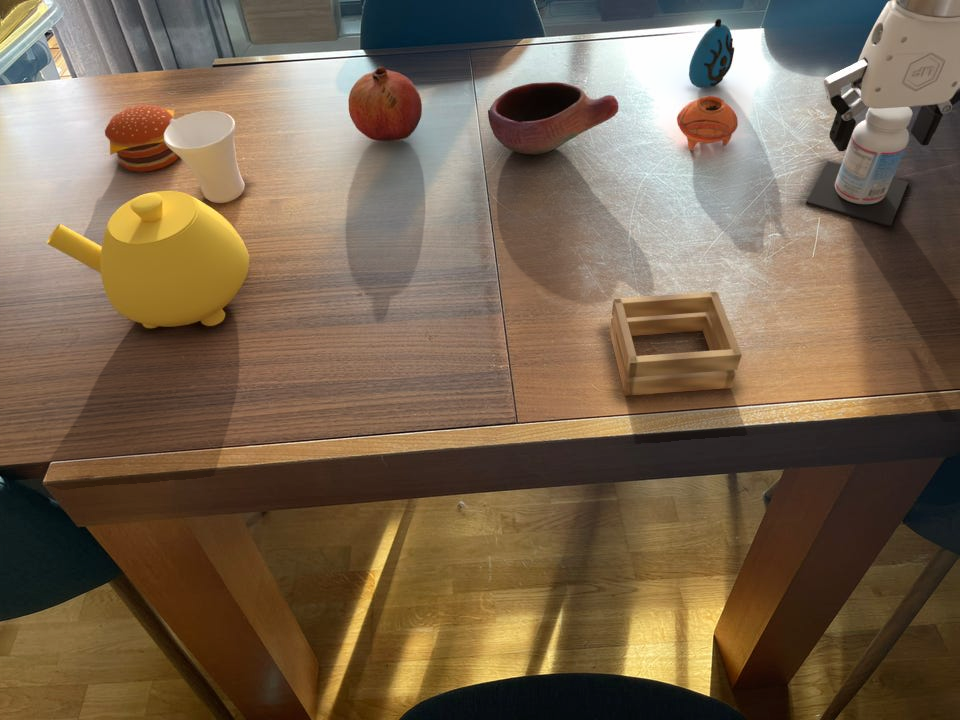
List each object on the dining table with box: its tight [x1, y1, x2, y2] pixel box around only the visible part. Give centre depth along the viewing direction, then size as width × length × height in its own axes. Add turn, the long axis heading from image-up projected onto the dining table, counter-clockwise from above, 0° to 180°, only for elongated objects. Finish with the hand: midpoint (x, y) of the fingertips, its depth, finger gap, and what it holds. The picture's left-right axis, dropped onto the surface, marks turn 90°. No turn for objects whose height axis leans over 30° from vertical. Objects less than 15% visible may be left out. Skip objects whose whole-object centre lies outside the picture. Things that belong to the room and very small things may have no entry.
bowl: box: [487, 81, 620, 155], centre depth 101 cm, size 16×13×8 cm
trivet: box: [805, 160, 909, 228], centre depth 93 cm, size 10×10×1 cm
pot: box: [676, 95, 739, 150], centre depth 100 cm, size 8×8×7 cm
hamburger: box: [104, 104, 180, 173], centre depth 104 cm, size 9×10×7 cm
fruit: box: [348, 66, 423, 142], centre depth 103 cm, size 11×10×10 cm
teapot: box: [46, 190, 250, 329], centre depth 81 cm, size 20×16×14 cm
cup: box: [164, 110, 246, 204], centre depth 96 cm, size 9×9×10 cm
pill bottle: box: [835, 107, 914, 204], centre depth 88 cm, size 6×6×11 cm
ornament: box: [688, 18, 735, 89], centre depth 108 cm, size 8×5×10 cm, turn 132°
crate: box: [609, 290, 743, 397], centre depth 74 cm, size 11×9×5 cm
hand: (878, 142), depth 87 cm, fingers open, 9 cm apart
